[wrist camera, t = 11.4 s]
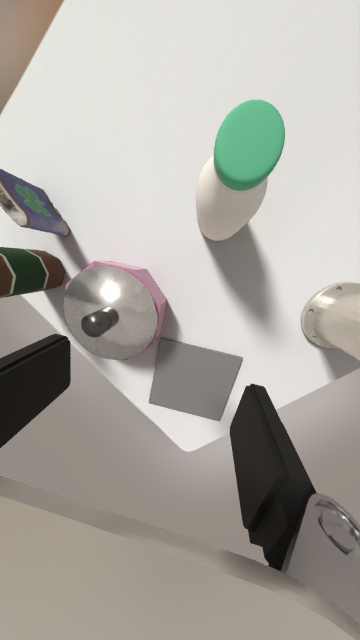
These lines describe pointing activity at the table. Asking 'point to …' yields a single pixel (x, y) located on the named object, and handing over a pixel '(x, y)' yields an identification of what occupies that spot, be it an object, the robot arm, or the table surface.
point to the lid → (110, 312)
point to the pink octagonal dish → (147, 281)
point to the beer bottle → (28, 271)
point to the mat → (193, 379)
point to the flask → (29, 205)
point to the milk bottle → (239, 168)
